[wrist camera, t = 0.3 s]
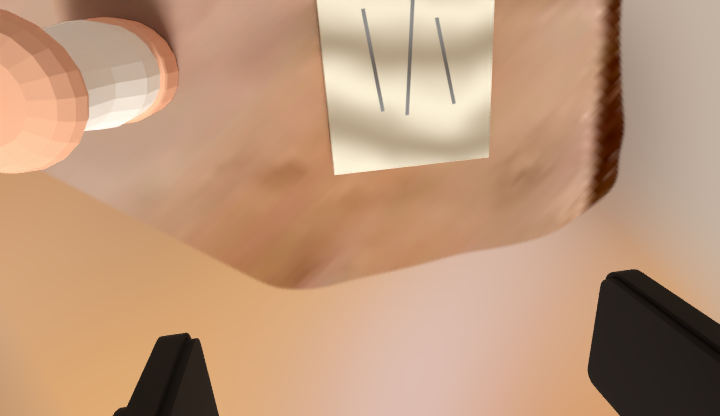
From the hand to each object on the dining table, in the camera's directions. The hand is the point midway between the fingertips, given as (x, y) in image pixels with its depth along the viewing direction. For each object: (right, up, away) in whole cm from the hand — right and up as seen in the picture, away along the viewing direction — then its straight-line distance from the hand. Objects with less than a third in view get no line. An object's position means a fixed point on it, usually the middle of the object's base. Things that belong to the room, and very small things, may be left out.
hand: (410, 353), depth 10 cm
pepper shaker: (-19, +14, +24) cm, 34 cm away
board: (+3, +17, +26) cm, 31 cm away
